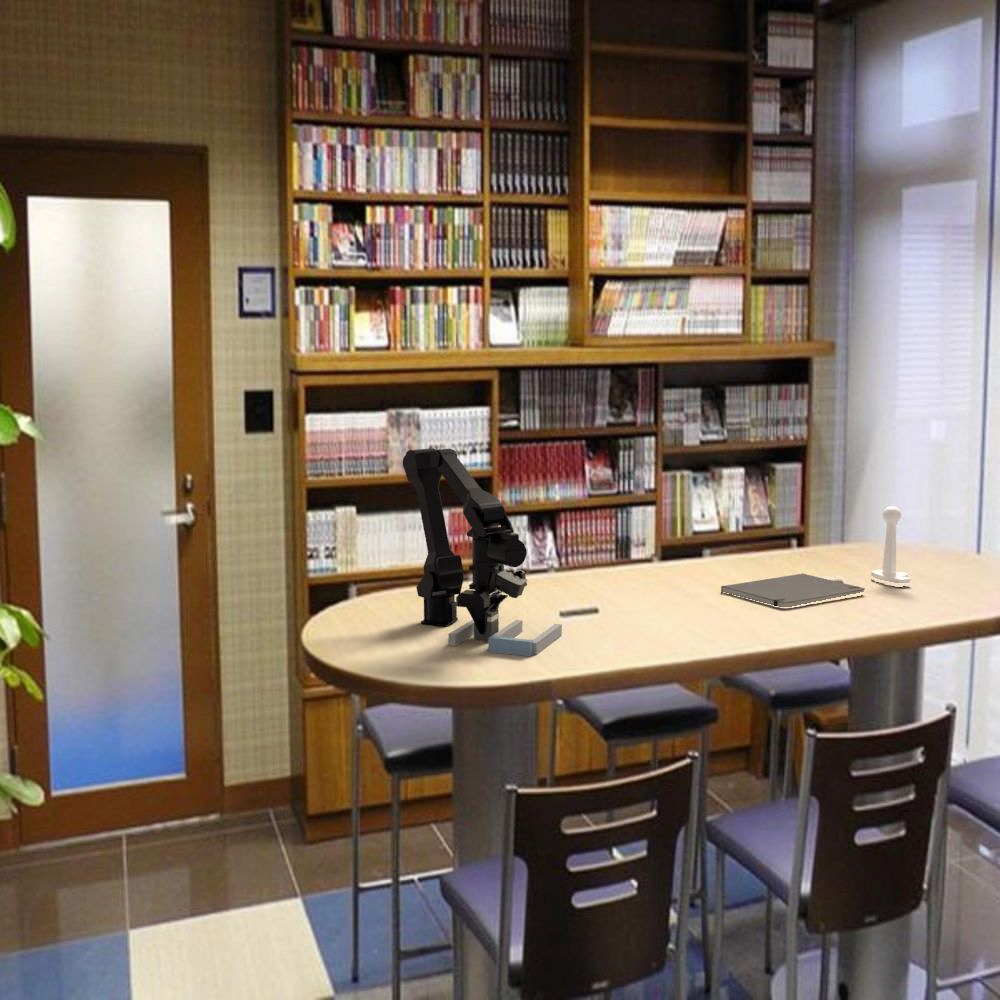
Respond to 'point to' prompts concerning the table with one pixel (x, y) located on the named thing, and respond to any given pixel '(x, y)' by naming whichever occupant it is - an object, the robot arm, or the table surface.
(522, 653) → the grey rectangular bars
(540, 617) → the table surface
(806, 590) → the notebook
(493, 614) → the grey capped block
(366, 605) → the table surface
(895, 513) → the joystick
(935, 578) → the table surface
